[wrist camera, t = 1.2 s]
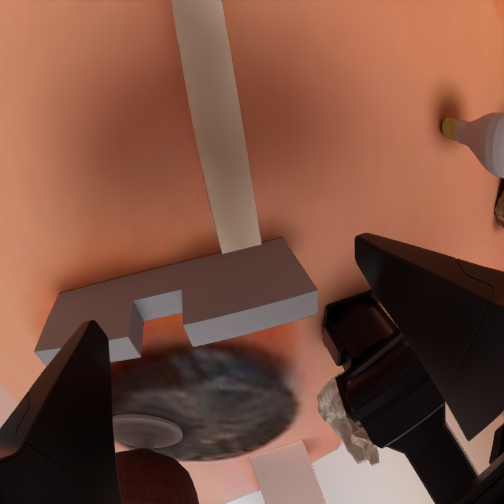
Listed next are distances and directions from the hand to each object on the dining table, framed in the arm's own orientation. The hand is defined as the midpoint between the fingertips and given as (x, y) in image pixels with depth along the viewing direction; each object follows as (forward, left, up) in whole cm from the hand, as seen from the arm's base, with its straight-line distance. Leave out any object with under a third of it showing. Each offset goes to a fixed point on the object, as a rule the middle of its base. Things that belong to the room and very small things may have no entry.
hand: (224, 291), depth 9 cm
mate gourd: (+18, +33, -12) cm, 39 cm away
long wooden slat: (-1, -7, -12) cm, 14 cm away
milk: (-1, +60, -12) cm, 61 cm away
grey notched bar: (+5, +7, -12) cm, 15 cm away
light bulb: (-23, -2, -12) cm, 26 cm away
